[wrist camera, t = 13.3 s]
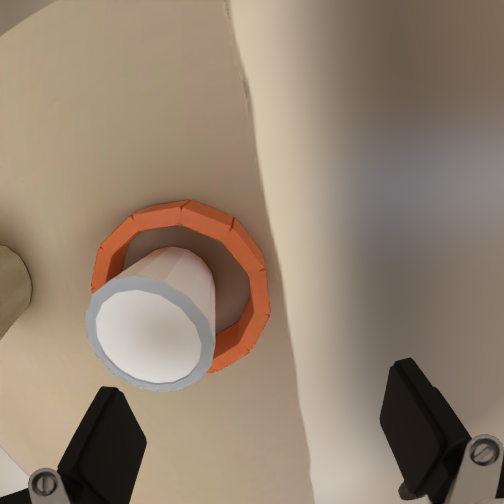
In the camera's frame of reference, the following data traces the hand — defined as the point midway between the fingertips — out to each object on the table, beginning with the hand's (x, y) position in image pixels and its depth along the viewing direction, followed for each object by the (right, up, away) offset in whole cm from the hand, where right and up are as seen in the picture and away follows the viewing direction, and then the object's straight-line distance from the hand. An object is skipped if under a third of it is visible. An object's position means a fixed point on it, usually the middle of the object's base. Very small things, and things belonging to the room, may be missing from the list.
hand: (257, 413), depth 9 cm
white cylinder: (-5, +3, +11) cm, 13 cm away
